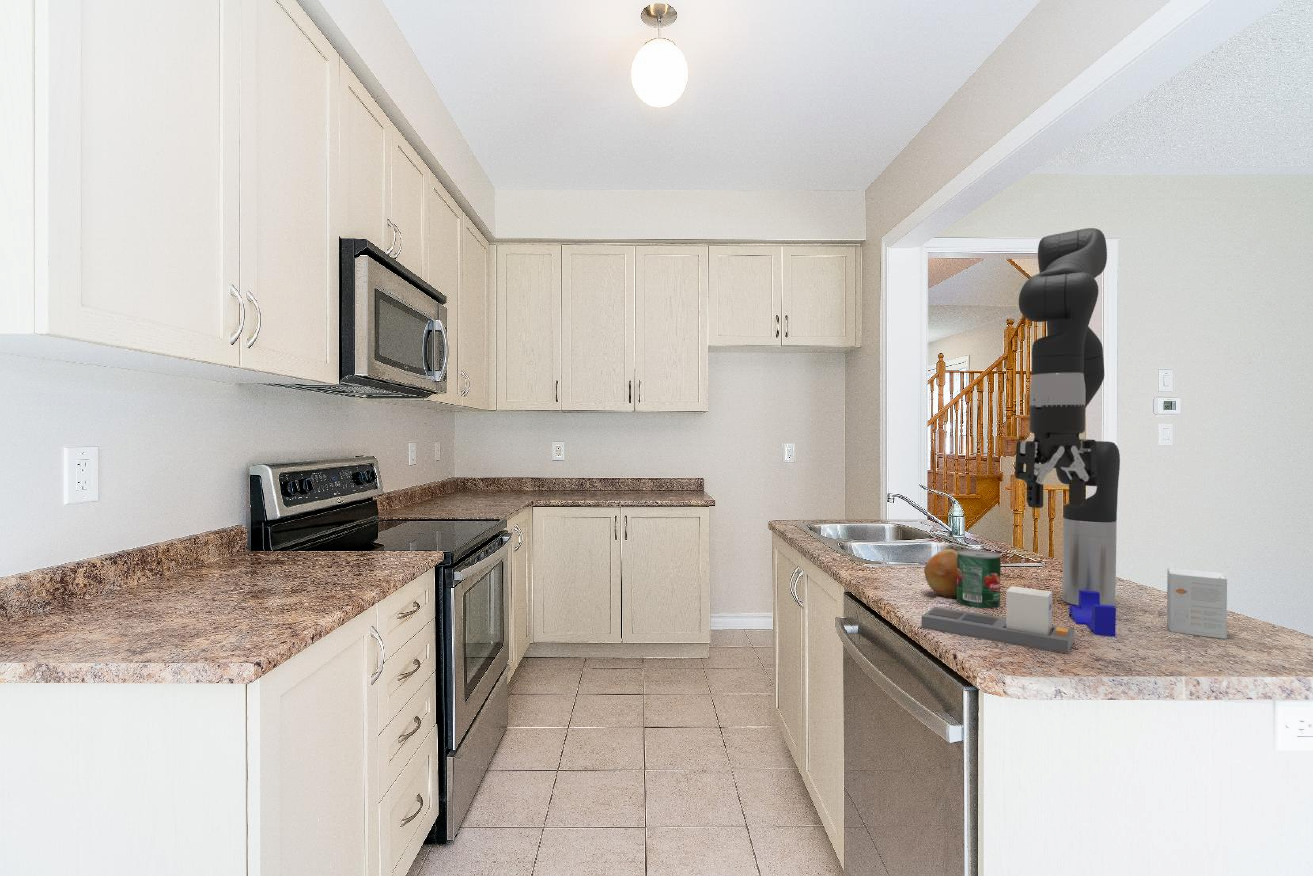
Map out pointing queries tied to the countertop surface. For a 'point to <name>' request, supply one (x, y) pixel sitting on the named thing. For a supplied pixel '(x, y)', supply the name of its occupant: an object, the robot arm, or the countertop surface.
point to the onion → (943, 573)
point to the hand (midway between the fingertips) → (1056, 506)
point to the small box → (1197, 603)
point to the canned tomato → (978, 578)
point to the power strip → (995, 629)
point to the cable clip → (1094, 614)
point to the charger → (1029, 610)
